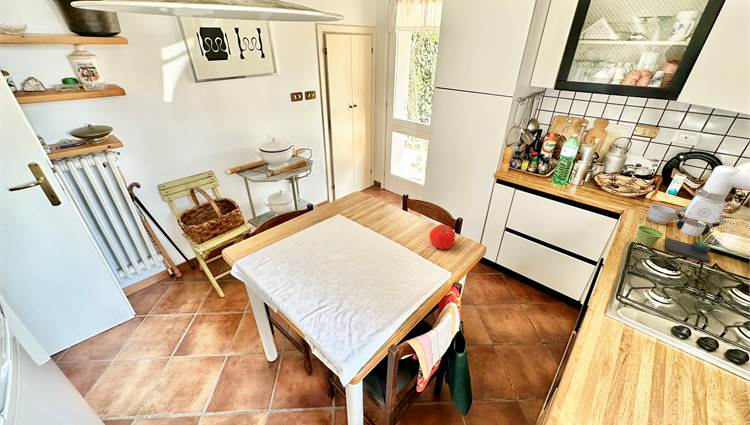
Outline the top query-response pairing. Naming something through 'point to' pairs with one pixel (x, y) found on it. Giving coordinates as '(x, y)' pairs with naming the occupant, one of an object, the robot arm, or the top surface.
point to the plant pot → (648, 235)
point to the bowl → (692, 228)
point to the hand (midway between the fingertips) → (690, 231)
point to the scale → (687, 250)
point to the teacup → (661, 214)
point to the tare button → (702, 245)
